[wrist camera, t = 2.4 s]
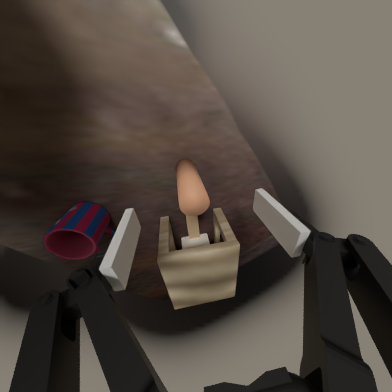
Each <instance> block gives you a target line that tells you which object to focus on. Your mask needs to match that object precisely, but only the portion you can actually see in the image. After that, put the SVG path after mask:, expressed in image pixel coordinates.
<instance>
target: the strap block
mask: <svg viewBox="0 0 392 392" xmlns="http://www.w3.org/2000/svg"><path fill="white" fill-rule="evenodd" d="M176 178H177V188H178V198H179V207H180V210H181V211H182V212H183V213H184V214H186V221H187V227H188V233H189V236H188V237H183V238H181V240H182V249H188V248H193V247H199V246H204V245H209V244H210V243H209V239H208V236H207V233H205V234H199V225H198V215H201V214H202V213H204V212H205V211H206V210H207V209H208V207H209V204H210V200H209V197H208V195H207V193H206V190H205V188H204V186H203V183H202V181H201V179H200V176H199V174H198V172H197V170H196V167H195V165H194V163H193V162H192V161H191V160H189V159H182V160H180V161H179V162H178V163H177V164H176Z"/></svg>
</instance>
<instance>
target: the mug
mask: <svg viewBox="0 0 392 392" xmlns="http://www.w3.org/2000/svg"><path fill="white" fill-rule="evenodd" d="M110 219H111V218H110V215H109V213H108V211H107V210H106V209H105V208H103V207H102V206H100V205H98V204H95V203H91V202H80V203H77V204H75V205H74V206H72V207H71V208H70V209H69V210H68V211H67V212H66V214H65V215H64V216H63V217H62V218H61V219H60V220H59V221H58V222H57V223H56V224H55V225H54V226H53V227H52V228H51V229H50V230H49V231H48V232H47V233H46V234H45V235H44V237H43V245H44V247H45V248H46V249H47V250H48V251H49V252H50V253H52V254H53V255H56V256H58V257H61V258H64V259H70V260H79V259H84V258H87V257H90V256H91V255H92V254H94V252H95V251H96V252H98V251H99V249H100V247H101V245H100V241H101V239H102V237H103V235H104V233H105V232H107V233H109V234H110V235H112V236H113V237H114V234H115V231H114V230H112V229H111V228H109V227H108V226H109V223H110Z"/></svg>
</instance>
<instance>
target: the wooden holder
mask: <svg viewBox="0 0 392 392" xmlns="http://www.w3.org/2000/svg"><path fill="white" fill-rule="evenodd" d="M213 221H214V244H209V245H204V246H199V247H193V248H188V249H182V250H176V246H175V242H174V237H173V233H172V229H171V225H170V220H169V216H167V217H161V220H160V233H159V246H158V255H157V262H158V265H159V268H160V271H161V273H162V276H163V279H164V282H165V284H166V287H167V290H168V293H169V295H170V298H171V300H172V303H173V306H174V309H179V308H184V307H188V306H193V305H197V304H201V303H206V302H211V301H216V300H220V299H225V298H229V297H234V296H235V288H236V278H237V269H238V260H239V251H240V244H239V242H238V240H237V239H236V237H235V235H234V233H233V231H232V229H231V227H230V225H229V224H228V222H227V220H226V218H225V216H224V214H223V212H222V210H221V208H216V209H213ZM220 233H221V235H222V237H223V240H224V242H220ZM170 249H171V252H170Z"/></svg>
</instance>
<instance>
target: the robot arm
mask: <svg viewBox="0 0 392 392" xmlns="http://www.w3.org/2000/svg"><path fill="white" fill-rule="evenodd" d="M253 211H254V212H255V213H256V214H257V216H258V217H259V218H260V219H261V221H262V222H263V223H264V224H265V225H266V227H267V228H268V229H269V230H270V232H271V233H272V234H273V235H274V237H275V238H276V239H277V240H278V242H279V243H280V244H281V245H282V246H283V248H284V249H285V250H286V251H287V253H288V254H289V255H290V256H291V257H296V256H300V255H301V253H302V251H303V252H304V253H305V254H306V255H305V257H304V259H303V262H302V263H303V264H304V262H305V265H304V267H305V268H304V326H303V356H302V361H301V365H300V376H298V375H296V374H294V373H291V372H288V371H287V369H286V367H282V368H278V369H274V370H271V371H266V372H265V373H264V374H262V375H261V376H260V377H259V378H258V379H256V380H255V381H254V382H253V383H251V384H250V385H249V386H245V385H239V384H232V383H226V382H223V383H219V384H215V385H211V386H207V387H204V392H378V391H377V387H376V382H375V378H374V375H373V372H372V370H371V368H370V367H369V365H367V364H366V363H365V362H364V361H363V359H362V357H361V353H360V348H359V343H358V339H357V333H356V328H355V323H354V319H353V314H352V309H351V304H350V299H349V294H348V291H349V293H350V295H351V297H352V299H353V301H354V303H355V305H356V306H357V309H358V311H359V313H360V315H361V317H362V319H363V321H364V323H365V325H366V327H367V329H368V331H369V333H370V335H371V337H372V339H373V341H374V343H375V345H376V347H377V349H378V351H379V353H380V355H381V357H382V359H383V361H384V363H385V365H386V367H387V369H388V371H389V373H390V375H391V377H392V265H391V264H390V263H389V261H388V260H387V259H386V258H385V257H384V256H383V254H382V253H381V252H380V251H379V250H378V248H377V247H376V246H375V245H374V244H373V242H371V241H370V240H369V239H367V238H366V237H363V236H360V235H357V234H350V235H348V237H347V239H342V238H335V237H334V236H332V235H330V234H328V233H325V232H319V231H318V230H317V229H315V228H314V227H313V226H312V225H310V224H309V223H308V222H307V221H305V220H304V219H303V218H301V216H300V215H298V214H297V213H296V212H294V211H291V210H288V211H287V210H286V209H285V208H284V207H283V206H282V205H281V204H279V203H278V202H277V201H276V200H275V199H274V198H273V197H271V196H270V195H269V194H268V193H267V192H266V191H265V190H263V189H256V190H255V197H254V204H253ZM140 230H141V227H140V224H139V221H138V219H137V216H136V213H135V211H134V208H130V209H126V210H125V212H124V214H123V217H122V219H121V221H120V223H119V225H118V228H117V230H116V232H115V234H114V237H113V239H112V240H110V241H106V242H105V243H104V244H103V245H102V246H101V247H100V249H99V251H98V253H97V255H96V258H95V259H94V261H93V263H92V265H91V267H89V266H83V267H80V268H78V269H76V270H75V271H74V272H72V273H71V275H70V276H69V277H68V279H67V281H66V284H67V285H68V286H69V287H70V289H67V290H65V291H63V292H61V293H59V292H58V291H57V290H51V291H49V292H46V293H45V294H43V295H42V296H40V297H39V298H38V299H37V300H36V301H35V303H34V304H33V305H32V307H31V310H30V313H29V317H28V321H27V325H26V329H25V333H24V336H23V340H22V344H21V348H20V352H19V355H18V360H17V363H16V367H15V371H14V375H13V378H12V382H11V387H10V390H9V392H80V318H81V317H83V319H84V321H85V324H86V326H87V329H88V332H89V335H90V338H91V340H92V343H93V345H94V348H95V351H96V354H97V356H98V359H99V362H100V365H101V367H102V370H103V373H104V375H105V378H106V381H107V384H108V386H109V389H110V392H168V391H167V390H166V388H165V386H164V385H163V383H162V381H161V380H160V378H159V376H158V374H157V373H156V371H155V369H154V367H153V366H152V364H151V362H150V361H149V359H148V357H147V356H146V354H145V352H144V350H143V349H142V347H141V345H140V343H139V342H138V340H137V338H136V337H135V335H134V333H133V331H132V330H131V328H130V326H129V325H128V323H127V321H126V320H125V318H124V316H123V314H122V313H121V311H120V309H119V307H118V306H117V304H116V303H115V301H114V299H113V297H112V296H111V294H110V291H111V288H113V289H114V291H120V290H125V289H126V285H127V281H128V277H129V273H130V269H131V265H132V261H133V257H134V254H135V250H136V246H137V242H138V238H139V234H140ZM347 289H348V290H347Z"/></svg>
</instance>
